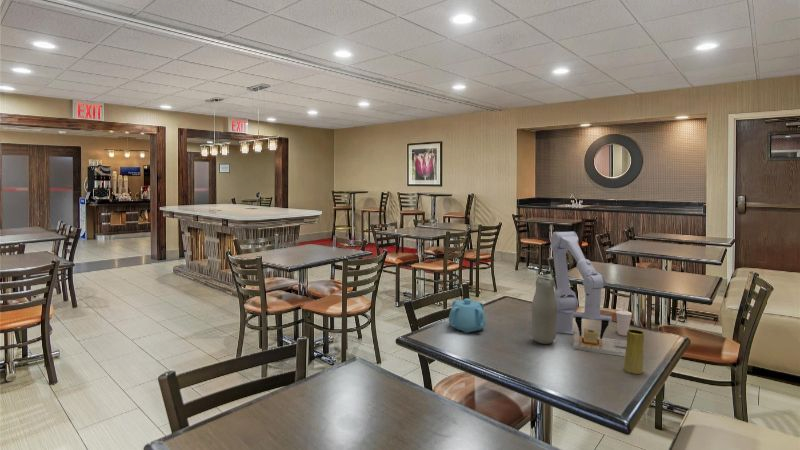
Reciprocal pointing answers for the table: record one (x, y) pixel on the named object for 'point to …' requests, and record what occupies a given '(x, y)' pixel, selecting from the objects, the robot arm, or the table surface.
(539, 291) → the glass bottle
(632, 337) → the vase
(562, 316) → the robot arm
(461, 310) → the decorative pot
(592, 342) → the brass nut
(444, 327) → the table surface
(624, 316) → the smoothie
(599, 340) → the panel
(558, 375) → the table surface
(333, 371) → the table surface
